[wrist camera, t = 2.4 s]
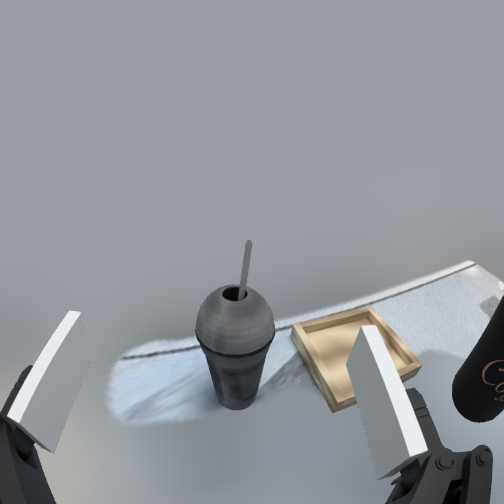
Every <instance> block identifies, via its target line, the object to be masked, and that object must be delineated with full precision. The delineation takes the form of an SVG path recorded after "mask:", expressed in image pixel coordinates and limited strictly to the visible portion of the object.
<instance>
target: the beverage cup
mask: <svg viewBox="0 0 504 504" xmlns="http://www.w3.org/2000/svg"><path fill="white" fill-rule="evenodd" d="M251 249H252V240H246V245H245V252H244V260H243V267H242V274H241V282H240V285H227V286H223V287H221V288H218V289H217V290H215V291H214V292H212V293H211V294H210V295H208V296H207V298H206V299H205V301H204V302H203V303H202V305H201V306H200V309H199V312H198V317H197V322H196V329H195V332H196V337H197V340H198V341H199V343H200V346H201V348H202V350H203V353H204V354H205V355H206V359H207V363H208V366H209V370H210V374H211V377H212V381H213V384H214V388H215V391H216V394H217V396H218V399H219V401H220V403H221V404H222V405H223V406H225V407H226V408H228V409H231V410H242V409H245V408H247V407H249V406H250V405H251V404H252V403H253V402H254V399H255V396H256V393H257V391H258V387H259V383H260V379H261V375H262V371H263V366H264V362H265V358H266V354H267V352H268V349H269V347H270V344H271V343H272V341H273V338H274V336H275V325H274V321H273V314H272V311H271V308H270V307H269V305H268V303H267V302H266V300H265V299H264V298H263V297H262V296H261V295H260V294H259V293H258V292H256V291H255V290H253V289H251V288H249V287H247V286H246V283H247V276H248V269H249V262H250V256H251Z"/></svg>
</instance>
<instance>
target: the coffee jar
mask: <svg viewBox="0 0 504 504" xmlns="http://www.w3.org/2000/svg"><path fill="white" fill-rule="evenodd" d="M452 398H453V401H454V405H455V407H456V408H457V410H458V412H459V413H460V414H461V415H462V416H463V417H464V418H466V419H468V420H470V421H472V422H478V423H480V422H486V421H490V420H493V419H494V418H495V417H496V416H498V415H499V414H500V413H501V412H502V411H503V410H504V295H503V297H502V299H501V301H500V303H499V305H498V307H497V309H496V311H495V313H494V315H493V316H492V318H491V320H490V322H489V324H488V326H487V327H486V329H485V331H484V332H483V334H482V336H481V337H480V339H479V341H478V342H477V344H476V346H475V347H474V349H473V350H472V352H471V353H470V355H469V356H468V358H467V359H466V361H465V362H464V364H463V365H462V367H461V368H460V370H459V371H458V372H457V374H456V375H455V378H454V381H453V384H452Z"/></svg>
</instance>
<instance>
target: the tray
mask: <svg viewBox="0 0 504 504" xmlns="http://www.w3.org/2000/svg"><path fill="white" fill-rule="evenodd" d="M366 325H376V327H377V329H378V331H379V333H380V335H381V337H382V339H383V341H384V344H385V346H386V348H387V350H388V352H389V354H390V357H391V359H392V361H393V363H394V365H395V368H396V370H397V372H398V374H399V377H400V379H401V381H402V383H403V382H405V381H407V380H409V379H411V378H412V377H414V376H415V375H416V374H417V372H418V371H419V370H420V368H421V366H422V363H421V362H420V361H419V360H418V359H417V358H416V356H415V355H414V354H413V353H412V352H411V351H410V349H409V348H408V347H407V346H406V345H405V344H404V342H403V341H402V340H401V339H400V338H399V337H398V336H397V334H396V333H395V332H394V331H393V330H392V329H391V328H390V327H389V325H388V324H387V323H386V322H385V321H384V320H383V319H382V318H381V316H380V315H379V314H378V313H377V312H376V311H375V310H374V309H373V308H372V307H371V306H368V307H365V308H361V309H357V310H353V311H349V312H345V313H341V314H336V315H332V316H328V317H323V318H319V319H314V320H310V321H305V322H300V323H295V324H293V326H292V332H291V338H292V340H293V341H294V343H295V345H296V347H297V349H298V351H299V352H300V354H301V356H302V358H303V360H304V362H305V364H306V365H307V367H308V369H309V371H310V373H311V375H312V376H313V378H314V380H315V382H316V384H317V386H318V387H319V389H320V391H321V393H322V395H323V397H324V398H325V400H326V402H327V404H328V406H329V408H330V409H331V411H332V413H333V412H336V411H339V410H342V409H344V408H347V407H349V406H352V405H354V404H357V401H356V397H355V394H354V390H353V387H352V384H351V380H350V377H349V374H348V370H347V367H346V362H347V360H348V358H349V355H350V353H351V350H352V348H353V345H354V343H355V340H356V338H357V335H358V332H359V330H360V327H361V326H366Z"/></svg>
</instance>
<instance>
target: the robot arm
mask: <svg viewBox="0 0 504 504" xmlns="http://www.w3.org/2000/svg"><path fill="white" fill-rule="evenodd" d="M96 353H97V349H96V347H95V345H94V342H93V340H92V338H91V335H90V333H89V331H88V328H87V326H86V323H85V322H84V319H83V316H82V313H81V312H76V311H69V312H68V313H67V315H66V316H65V318H64V319H63V321H62V322H61V324H60V325H59V326H58V328H57V329H56V331H55V332H54V334H53V335H52V337H51V339H50V340H49V342H48V343H47V345H46V346H45V348H44V350H43V351H42V353H41V354H40V356H39V358H38V359H37V361H36V363H35V364H34V366H32V365H29V366H28V367H27V368H26V369H25V370H24V371H23V372H22V373H21V375H20V377H19V379H18V382H16V384H15V386H14V388H13V389H12V391H11V393H10V395H9V397H8V399H7V401H6V403H5V405H4V407H3V409H2V411H1V412H0V504H56V502H55V500H54V497H53V495H52V493H51V490H50V488H49V485H48V483H47V480H46V477H45V475H44V472H43V469H42V466H41V463H40V460H39V457H38V454H37V450H36V448H35V446H34V443H37V444H38V445H39V446H40V447H41V448H43V449H45V450H47V451H49V452H51V453H53V454H54V452H55V450H56V447H57V444H58V441H59V439H60V436H61V433H62V431H63V428H64V426H65V423H66V420H67V418H68V415H69V413H70V411H71V408H72V406H73V403H74V401H75V399H76V396H77V394H78V392H79V389H80V387H81V385H82V383H83V381H84V378H85V376H86V374H87V372H88V370H89V368H90V366H91V364H92V361H93V359H94V357H95V355H96ZM346 367H347V370H348V374H349V377H350V380H351V384H352V387H353V390H354V394H355V397H356V401H357V404H358V408H359V411H360V415H361V418H362V422H363V426H364V430H365V433H366V437H367V441H368V445H369V448H370V453H371V457H372V461H373V465H374V469H375V474H376V478H377V480H380V479H383V478H387V477H390V476H393V475H395V474H396V473H398V472H399V471H400V473H401V476H400V477H398V478H397V479H395V480H394V481H393V482H392V483H391V485H393V484H395V483H396V485H395V487H394V489H393V491H392V493H391V495H390V496H389V498H388V500H387V502H386V503H385V504H489V502H490V494H491V483H492V464H493V456H492V452H491V450H490V449H489V448H488V447H487V446H485V445H479V446H477V447H476V448H475V449H474V450H472V451H468V452H457V453H456V452H452V451H451V450H449V449H447V448H444V446H443V445H442V443H441V441H440V438H439V436H438V433H437V430H436V428H435V425H434V423H433V420H432V418H431V416H430V413H429V411H428V408H426V404H425V401H424V399H423V397H422V395H421V394H420V393H419V392H418V391H417V390H416V389H415V388H411V389H406V390H405V388H404V386H403V384H402V381H401V379H400V377H399V374H398V372H397V370H396V368H395V365H394V363H393V361H392V359H391V357H390V354H389V352H388V350H387V348H386V346H385V344H384V341H383V339H382V337H381V335H380V333H379V331H378V329H377V327H376V325H366V326H361V327H360V330H359V332H358V335H357V338H356V340H355V343H354V345H353V348H352V350H351V353H350V355H349V358H348V360H347V362H346Z"/></svg>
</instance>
